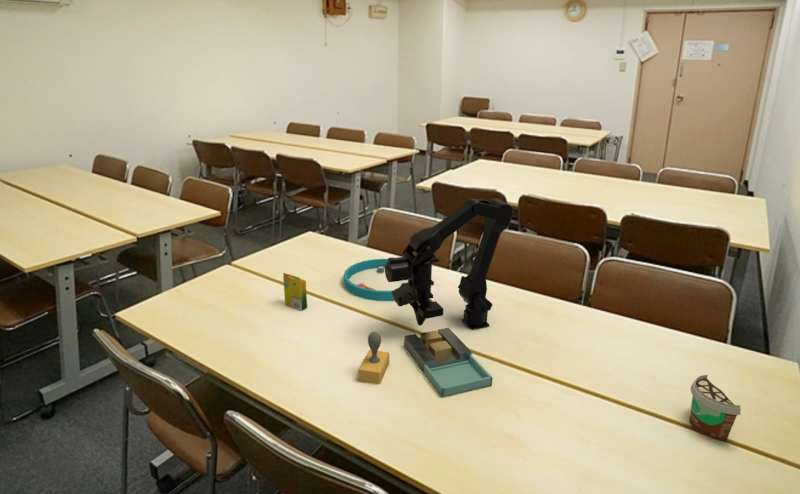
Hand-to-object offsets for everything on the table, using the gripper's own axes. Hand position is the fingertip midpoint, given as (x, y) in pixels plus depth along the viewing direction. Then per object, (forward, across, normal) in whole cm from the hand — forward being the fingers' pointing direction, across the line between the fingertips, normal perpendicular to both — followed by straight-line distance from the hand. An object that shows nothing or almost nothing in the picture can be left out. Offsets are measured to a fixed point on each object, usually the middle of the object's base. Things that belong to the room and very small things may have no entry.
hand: (419, 325), depth 156 cm
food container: (+3, +60, +44) cm, 74 cm away
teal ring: (+4, -38, +3) cm, 38 cm away
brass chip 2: (+1, +14, 0) cm, 14 cm away
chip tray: (+3, +24, 0) cm, 25 cm away
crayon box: (+3, -30, -31) cm, 43 cm away
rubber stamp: (+3, +14, -19) cm, 24 cm away
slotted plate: (+3, +12, 0) cm, 12 cm away
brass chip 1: (+1, +8, 0) cm, 8 cm away
